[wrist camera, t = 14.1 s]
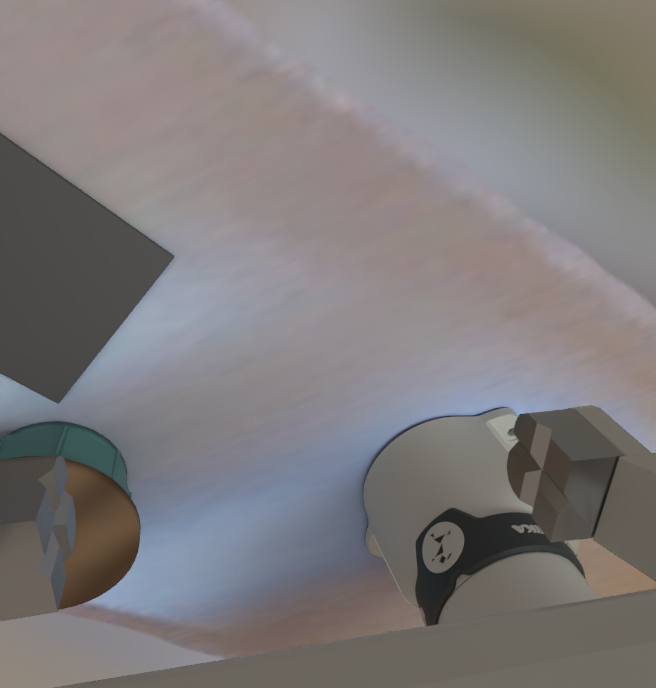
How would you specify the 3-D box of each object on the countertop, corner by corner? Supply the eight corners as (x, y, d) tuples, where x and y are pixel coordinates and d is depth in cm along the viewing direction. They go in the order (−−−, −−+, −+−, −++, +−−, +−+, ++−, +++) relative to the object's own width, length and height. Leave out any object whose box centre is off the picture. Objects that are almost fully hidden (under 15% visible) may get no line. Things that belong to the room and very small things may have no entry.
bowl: (155, 460, 47) (150, 512, 41) (81, 545, 49) (68, 605, 44) (31, 396, 42) (8, 445, 37) (-44, 493, 44) (-76, 553, 39)
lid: (177, 508, 42) (176, 550, 38) (75, 621, 44) (65, 670, 41) (0, 422, 36) (-21, 462, 32) (-104, 558, 39) (-133, 609, 35)
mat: (174, 256, 40) (173, 257, 39) (59, 400, 43) (58, 403, 42) (-31, 111, 34) (-33, 111, 33) (-148, 291, 37) (-151, 294, 36)
